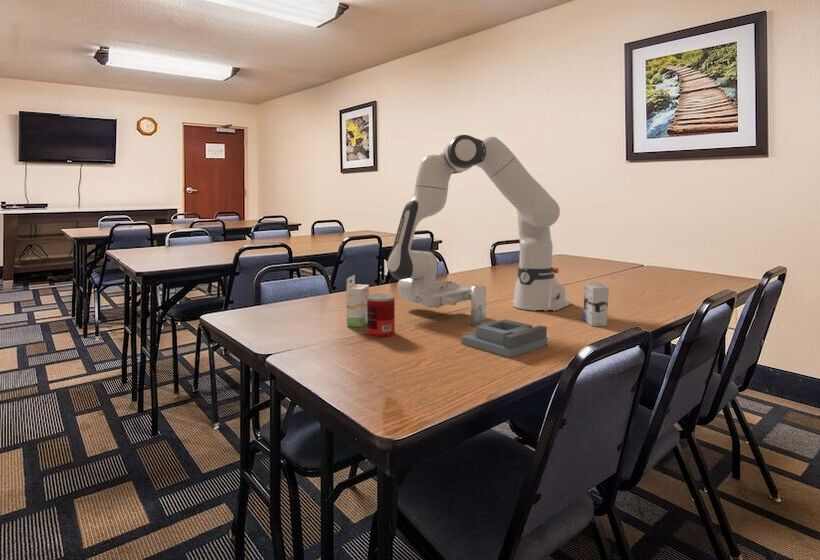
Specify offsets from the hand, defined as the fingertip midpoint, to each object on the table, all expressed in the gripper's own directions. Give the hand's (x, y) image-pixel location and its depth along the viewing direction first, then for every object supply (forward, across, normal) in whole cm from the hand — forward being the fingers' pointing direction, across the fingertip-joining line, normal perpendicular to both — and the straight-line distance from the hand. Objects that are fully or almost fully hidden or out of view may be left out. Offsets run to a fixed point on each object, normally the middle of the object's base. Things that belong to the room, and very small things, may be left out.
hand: (465, 300), depth 159 cm
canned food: (-7, -28, +7) cm, 30 cm away
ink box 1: (-21, -26, +7) cm, 34 cm away
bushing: (+5, 0, +7) cm, 9 cm away
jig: (+23, -10, +7) cm, 26 cm away
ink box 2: (+27, +29, +7) cm, 40 cm away
